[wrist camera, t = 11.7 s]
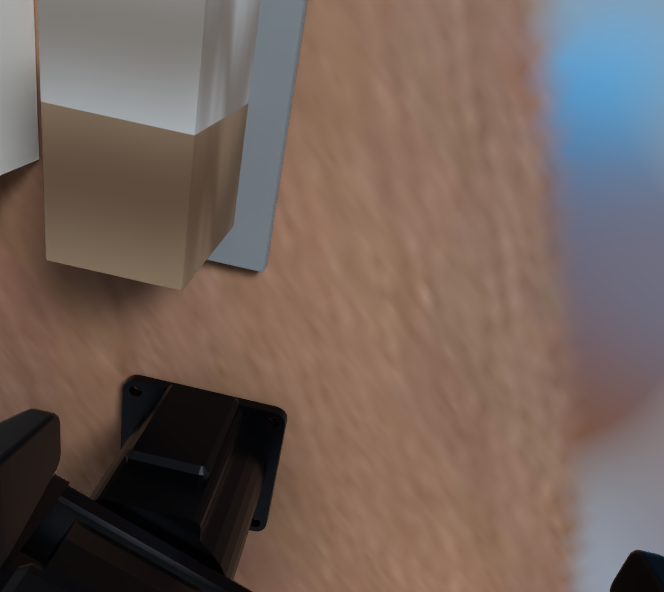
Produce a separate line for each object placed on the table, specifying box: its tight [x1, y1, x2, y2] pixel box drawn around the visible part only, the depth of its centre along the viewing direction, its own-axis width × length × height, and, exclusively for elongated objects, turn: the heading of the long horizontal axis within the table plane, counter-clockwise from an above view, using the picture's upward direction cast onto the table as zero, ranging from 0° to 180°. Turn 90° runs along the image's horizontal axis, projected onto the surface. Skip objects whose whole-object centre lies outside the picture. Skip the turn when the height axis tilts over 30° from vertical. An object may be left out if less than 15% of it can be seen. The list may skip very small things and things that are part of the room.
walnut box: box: [38, 0, 261, 291], centre depth 16 cm, size 7×4×5 cm, turn 169°
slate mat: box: [207, 0, 307, 272], centre depth 18 cm, size 10×6×1 cm, turn 169°
